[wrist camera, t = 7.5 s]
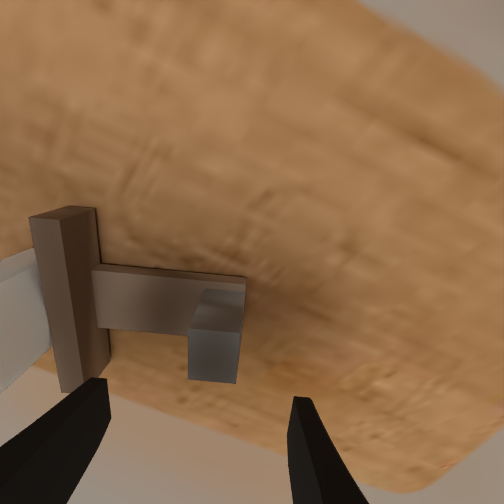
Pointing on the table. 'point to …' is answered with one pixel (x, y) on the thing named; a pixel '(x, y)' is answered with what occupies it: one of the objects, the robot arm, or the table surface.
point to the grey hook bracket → (129, 303)
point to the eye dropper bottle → (21, 316)
